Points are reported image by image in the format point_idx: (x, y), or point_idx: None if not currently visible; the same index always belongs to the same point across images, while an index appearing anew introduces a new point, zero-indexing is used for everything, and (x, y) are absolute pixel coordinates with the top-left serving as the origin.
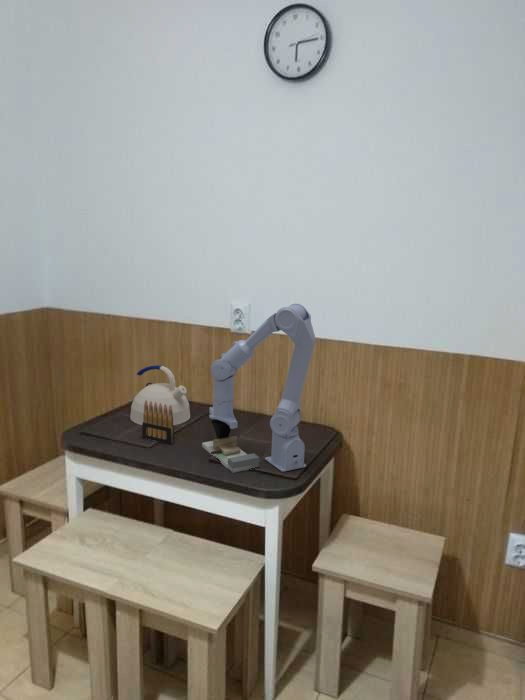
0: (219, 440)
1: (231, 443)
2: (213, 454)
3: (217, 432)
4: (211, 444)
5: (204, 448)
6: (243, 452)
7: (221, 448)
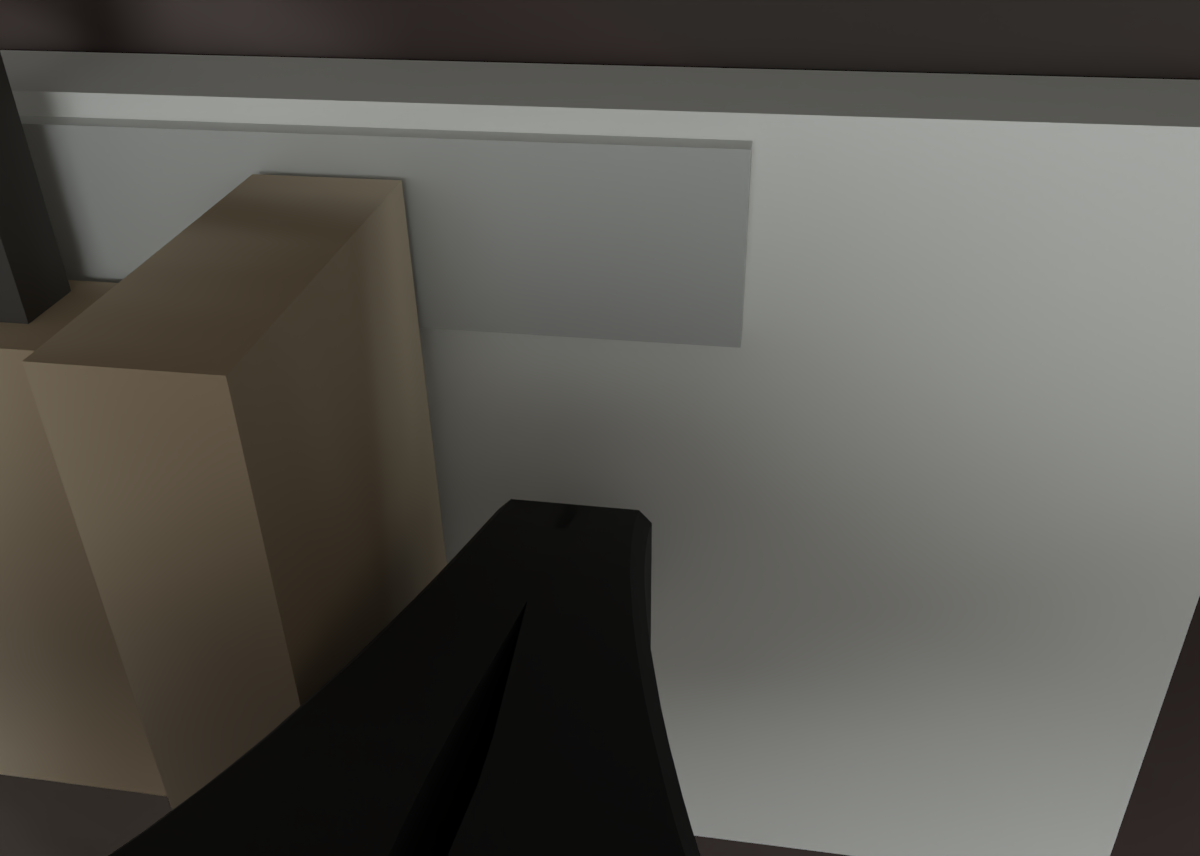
0: (96, 547)
1: None
2: (268, 73)
3: (351, 845)
4: (952, 365)
5: (1049, 76)
6: None
7: (2, 368)
